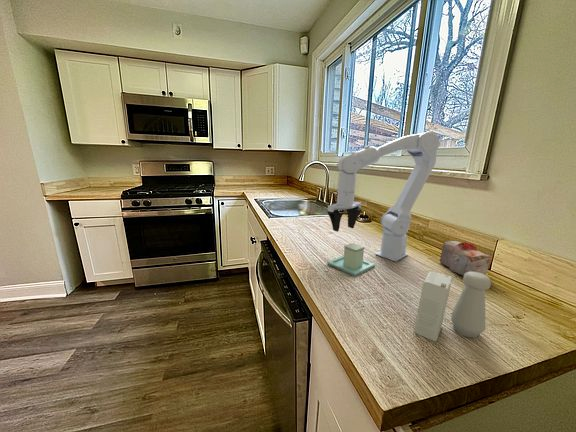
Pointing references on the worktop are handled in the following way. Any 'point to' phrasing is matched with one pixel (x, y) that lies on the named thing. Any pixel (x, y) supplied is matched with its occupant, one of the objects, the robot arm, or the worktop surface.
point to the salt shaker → (471, 305)
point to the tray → (339, 265)
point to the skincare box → (432, 305)
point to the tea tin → (353, 256)
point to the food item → (464, 258)
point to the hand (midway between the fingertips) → (343, 229)
